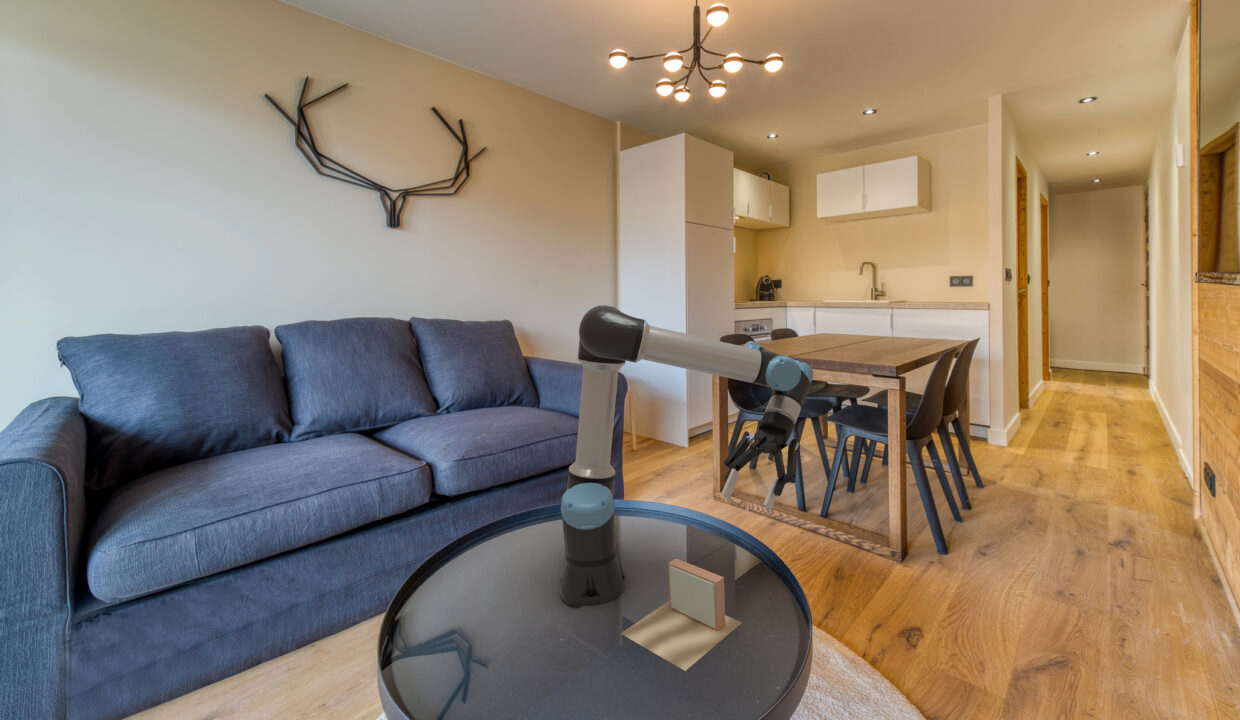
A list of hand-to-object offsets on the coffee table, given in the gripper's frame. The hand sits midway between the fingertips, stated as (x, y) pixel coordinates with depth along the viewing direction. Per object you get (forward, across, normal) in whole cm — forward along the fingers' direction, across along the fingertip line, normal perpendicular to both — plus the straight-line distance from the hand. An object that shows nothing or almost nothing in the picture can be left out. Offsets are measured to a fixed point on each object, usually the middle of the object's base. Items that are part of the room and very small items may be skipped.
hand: (745, 501), depth 119 cm
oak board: (+30, 0, +4) cm, 31 cm away
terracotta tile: (+26, 0, 0) cm, 26 cm away
